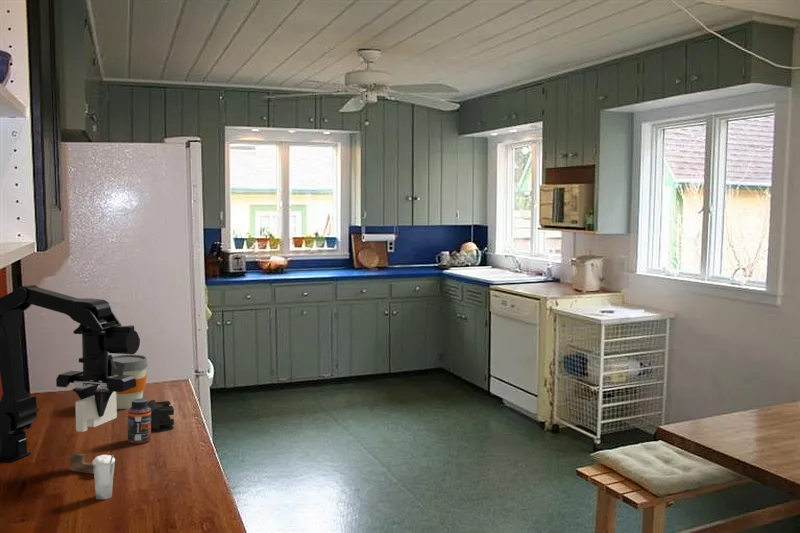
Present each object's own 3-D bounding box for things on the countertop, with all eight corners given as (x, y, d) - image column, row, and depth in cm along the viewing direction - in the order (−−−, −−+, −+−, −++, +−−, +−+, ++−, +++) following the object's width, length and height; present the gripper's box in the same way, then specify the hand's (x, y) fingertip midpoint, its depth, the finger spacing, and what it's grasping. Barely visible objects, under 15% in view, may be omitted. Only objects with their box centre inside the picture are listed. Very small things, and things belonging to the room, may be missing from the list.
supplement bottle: (143, 445, 188) (143, 403, 187) (123, 443, 189) (122, 402, 188) (155, 438, 193) (155, 398, 192) (135, 436, 195) (135, 396, 194)
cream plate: (83, 431, 165) (82, 402, 165) (76, 431, 166) (75, 401, 165) (116, 417, 177) (116, 390, 176) (109, 416, 177) (109, 389, 177)
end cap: (143, 423, 207) (143, 400, 207) (168, 420, 210) (168, 398, 210) (147, 433, 198) (147, 409, 198) (174, 430, 202) (174, 406, 201)
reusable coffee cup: (120, 398, 232) (120, 353, 231) (155, 401, 230) (155, 356, 228) (96, 408, 220) (96, 361, 219) (133, 412, 217) (133, 364, 216)
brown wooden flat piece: (70, 470, 169) (70, 454, 169) (74, 468, 170) (73, 452, 170) (106, 475, 166) (105, 459, 166) (109, 473, 167) (109, 457, 167)
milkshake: (103, 503, 151) (103, 458, 150) (88, 497, 154) (87, 452, 153) (122, 496, 155) (121, 452, 154) (106, 491, 157) (106, 447, 157)
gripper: (149, 348, 175) (150, 410, 176) (85, 344, 180) (87, 404, 181) (120, 357, 164) (121, 423, 166) (53, 352, 169) (55, 416, 171)
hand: (96, 416), depth 171 cm, fingers closed on cream plate, 2 cm apart
